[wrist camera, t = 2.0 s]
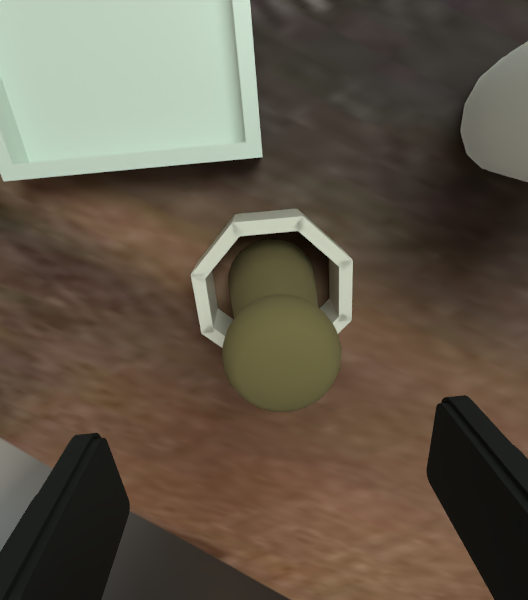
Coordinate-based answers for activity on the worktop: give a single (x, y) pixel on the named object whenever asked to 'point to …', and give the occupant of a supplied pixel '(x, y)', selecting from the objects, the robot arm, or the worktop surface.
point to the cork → (278, 329)
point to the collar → (265, 223)
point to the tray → (125, 85)
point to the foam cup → (499, 117)
